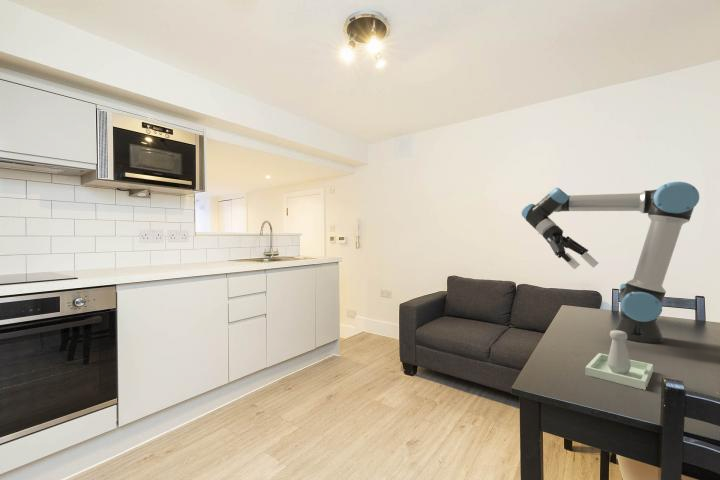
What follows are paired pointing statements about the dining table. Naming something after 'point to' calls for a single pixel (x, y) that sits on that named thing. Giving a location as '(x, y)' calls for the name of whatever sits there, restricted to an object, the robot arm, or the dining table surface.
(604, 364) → the tray
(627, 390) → the dining table surface
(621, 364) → the salt shaker
